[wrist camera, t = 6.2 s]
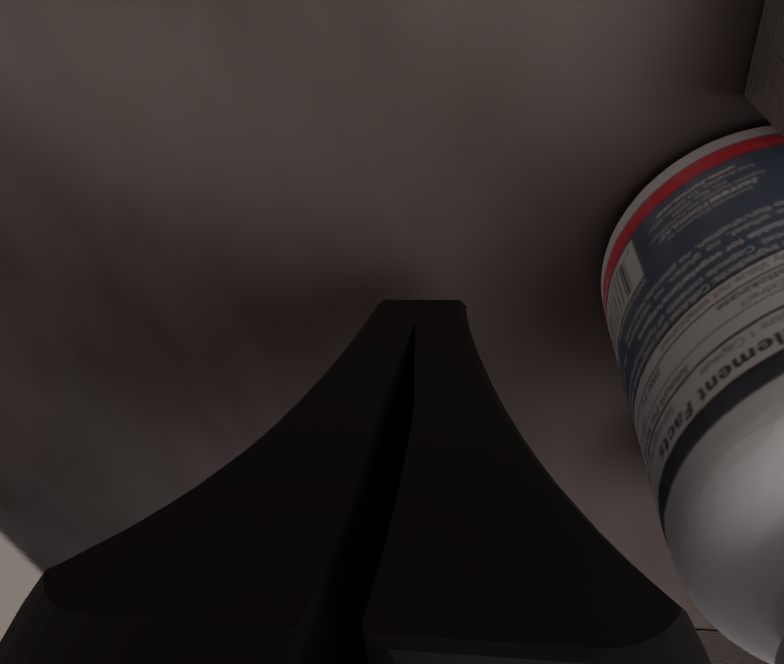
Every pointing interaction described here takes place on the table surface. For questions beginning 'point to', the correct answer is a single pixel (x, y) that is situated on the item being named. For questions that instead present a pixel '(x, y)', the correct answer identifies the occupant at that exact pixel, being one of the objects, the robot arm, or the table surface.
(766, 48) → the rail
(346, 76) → the table surface
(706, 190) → the pill bottle
